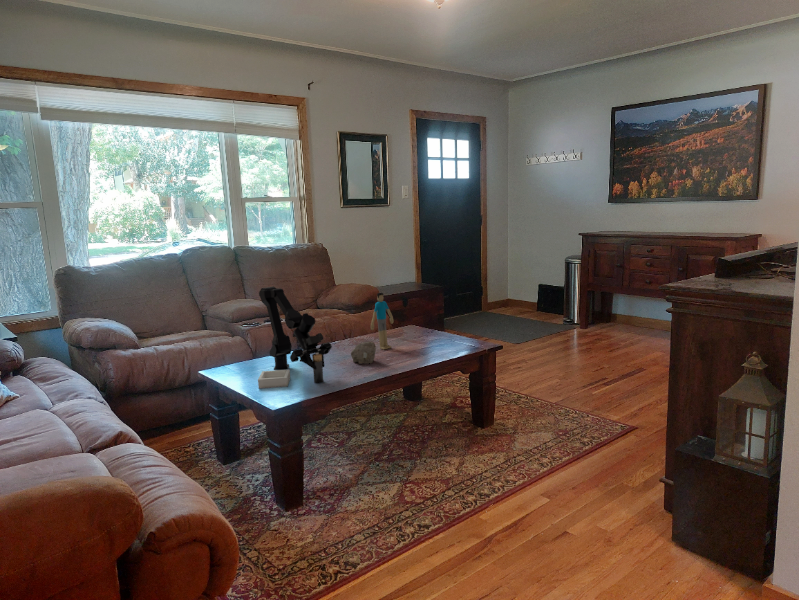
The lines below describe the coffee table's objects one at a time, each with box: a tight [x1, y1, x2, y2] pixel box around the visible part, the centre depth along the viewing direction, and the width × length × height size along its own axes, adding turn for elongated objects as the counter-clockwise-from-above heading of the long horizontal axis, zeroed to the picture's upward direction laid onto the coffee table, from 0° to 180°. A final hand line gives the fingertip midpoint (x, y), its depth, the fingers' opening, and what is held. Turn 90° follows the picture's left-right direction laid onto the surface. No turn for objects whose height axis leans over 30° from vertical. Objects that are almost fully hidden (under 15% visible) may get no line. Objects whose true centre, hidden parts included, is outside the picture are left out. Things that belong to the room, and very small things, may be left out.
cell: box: [311, 352, 324, 384], centre depth 234 cm, size 4×4×13 cm
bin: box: [257, 369, 291, 389], centre depth 235 cm, size 12×12×4 cm
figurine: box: [370, 292, 394, 350], centre depth 284 cm, size 16×6×30 cm, turn 135°
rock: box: [350, 341, 377, 365], centre depth 261 cm, size 14×10×8 cm
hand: (319, 367), depth 233 cm, fingers closed on cell, 4 cm apart
